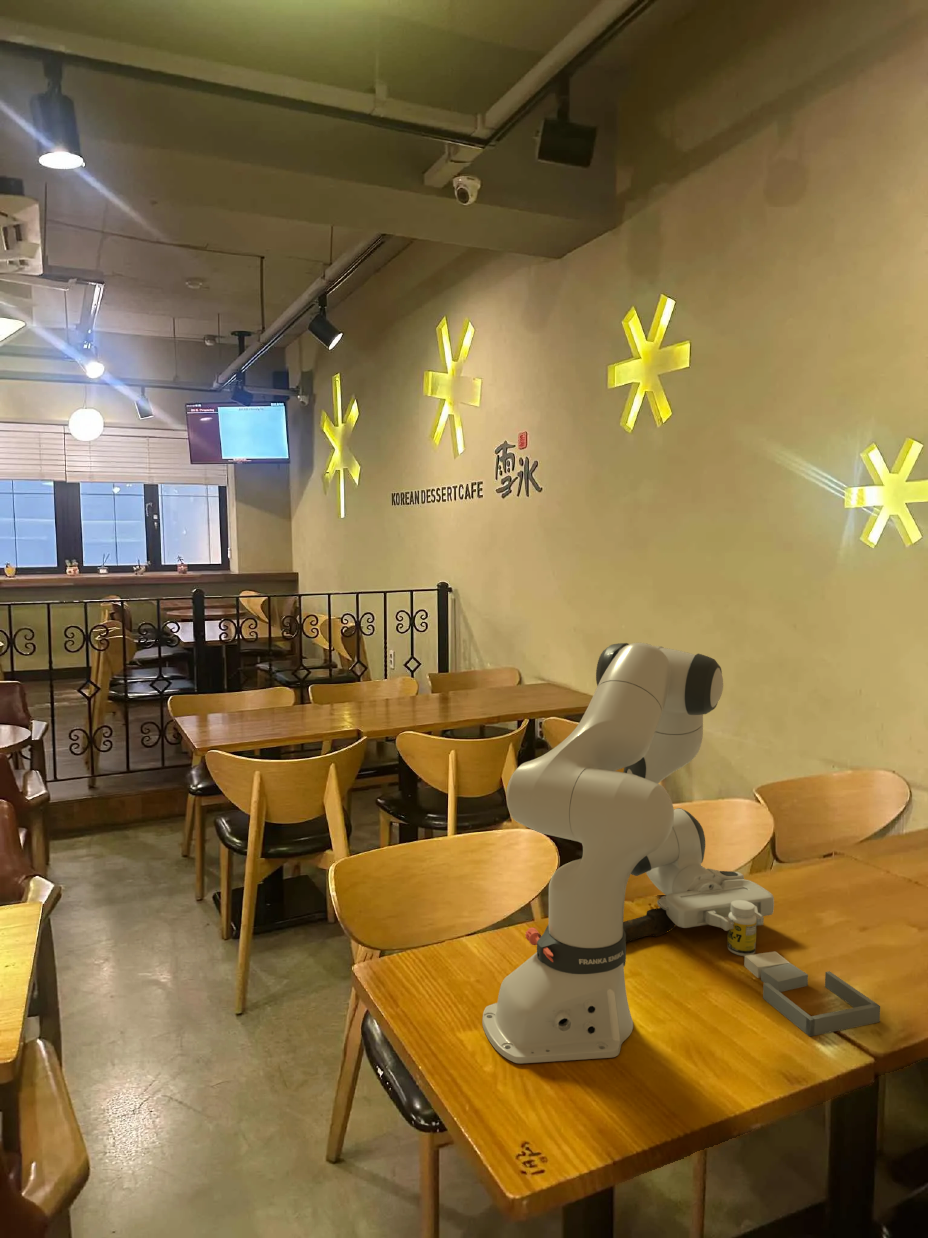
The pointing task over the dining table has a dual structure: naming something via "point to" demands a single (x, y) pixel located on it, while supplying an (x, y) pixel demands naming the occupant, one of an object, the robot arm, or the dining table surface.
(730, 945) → the supplement bottle
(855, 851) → the dining table surface
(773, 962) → the tile far
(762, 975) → the tile near
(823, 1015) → the grey u-shaped frame
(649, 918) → the hand tool
